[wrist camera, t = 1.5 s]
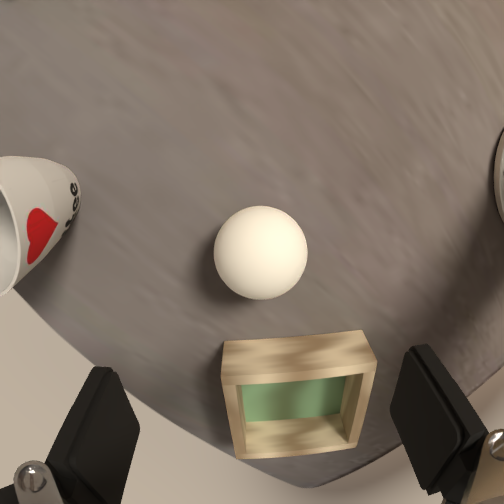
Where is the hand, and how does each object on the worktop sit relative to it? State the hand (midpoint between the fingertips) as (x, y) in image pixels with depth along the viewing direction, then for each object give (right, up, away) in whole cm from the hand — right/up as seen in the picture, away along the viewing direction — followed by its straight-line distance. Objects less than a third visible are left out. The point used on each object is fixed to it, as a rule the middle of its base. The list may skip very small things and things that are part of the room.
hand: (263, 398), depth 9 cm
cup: (-16, +9, +13) cm, 23 cm away
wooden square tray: (+4, -8, +20) cm, 22 cm away
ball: (0, +4, +12) cm, 12 cm away
